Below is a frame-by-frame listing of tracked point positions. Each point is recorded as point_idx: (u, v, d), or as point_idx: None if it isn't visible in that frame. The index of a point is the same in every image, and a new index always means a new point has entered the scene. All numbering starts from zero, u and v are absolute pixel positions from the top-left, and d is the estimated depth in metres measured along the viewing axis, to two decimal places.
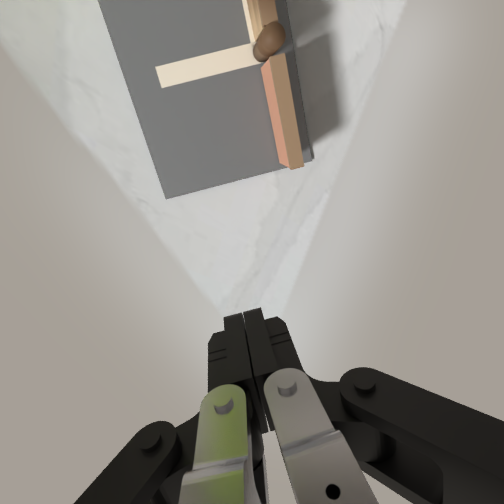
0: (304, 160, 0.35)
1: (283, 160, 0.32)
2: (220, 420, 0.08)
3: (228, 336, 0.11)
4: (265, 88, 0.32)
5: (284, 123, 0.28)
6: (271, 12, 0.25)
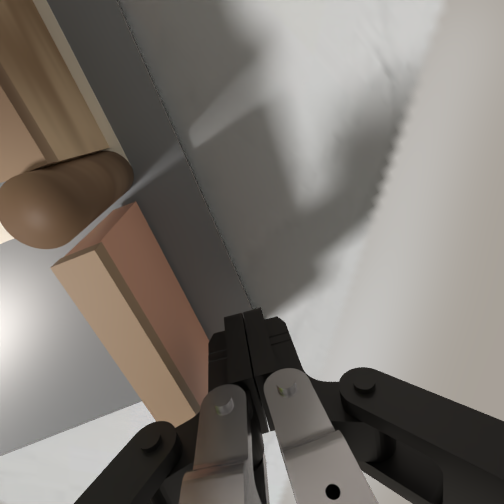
0: None
1: None
2: (220, 420, 0.08)
3: (228, 336, 0.11)
4: None
5: (150, 403, 0.10)
6: (13, 140, 0.07)
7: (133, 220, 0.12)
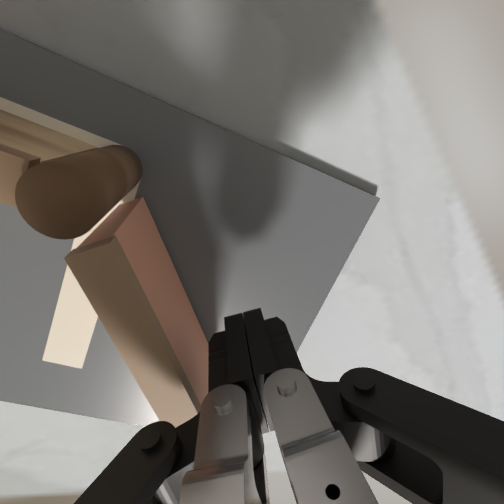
0: (367, 211, 0.15)
1: None
2: (220, 420, 0.08)
3: (228, 336, 0.11)
4: None
5: (153, 398, 0.10)
6: None
7: (141, 215, 0.12)
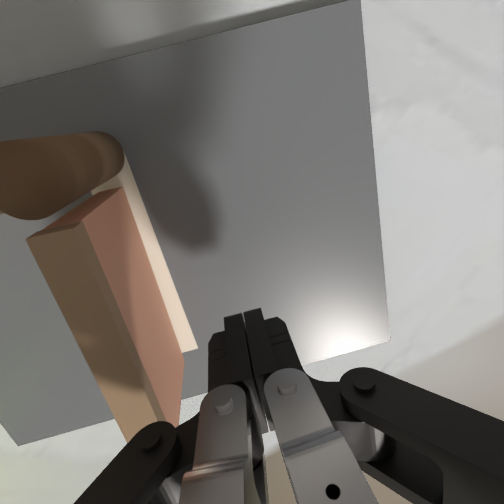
0: (356, 23, 0.12)
1: None
2: (220, 420, 0.08)
3: (228, 336, 0.11)
4: None
5: (107, 391, 0.10)
6: None
7: (117, 205, 0.12)
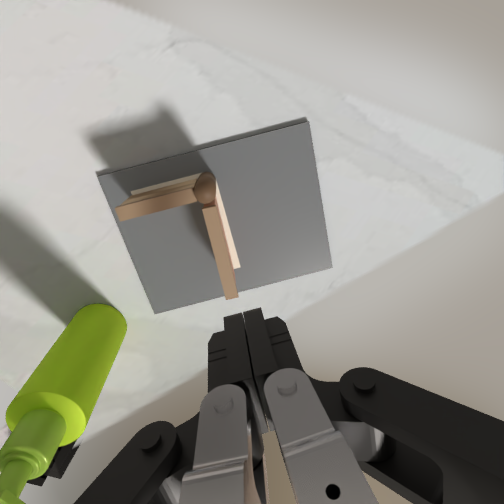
0: (307, 130, 0.32)
1: None
2: (220, 420, 0.08)
3: (228, 336, 0.11)
4: None
5: (218, 262, 0.30)
6: (186, 194, 0.28)
7: (216, 200, 0.32)
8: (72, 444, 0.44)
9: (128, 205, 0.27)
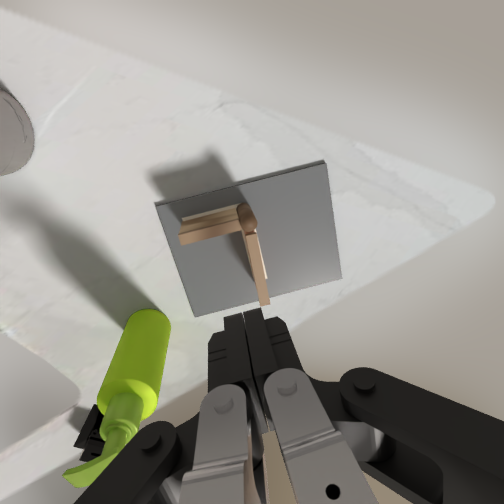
0: (325, 170, 0.40)
1: None
2: (220, 420, 0.08)
3: (228, 336, 0.11)
4: (245, 236, 0.41)
5: (255, 277, 0.38)
6: (233, 224, 0.35)
7: None
8: None
9: (188, 233, 0.35)
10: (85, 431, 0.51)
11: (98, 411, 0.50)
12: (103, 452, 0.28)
